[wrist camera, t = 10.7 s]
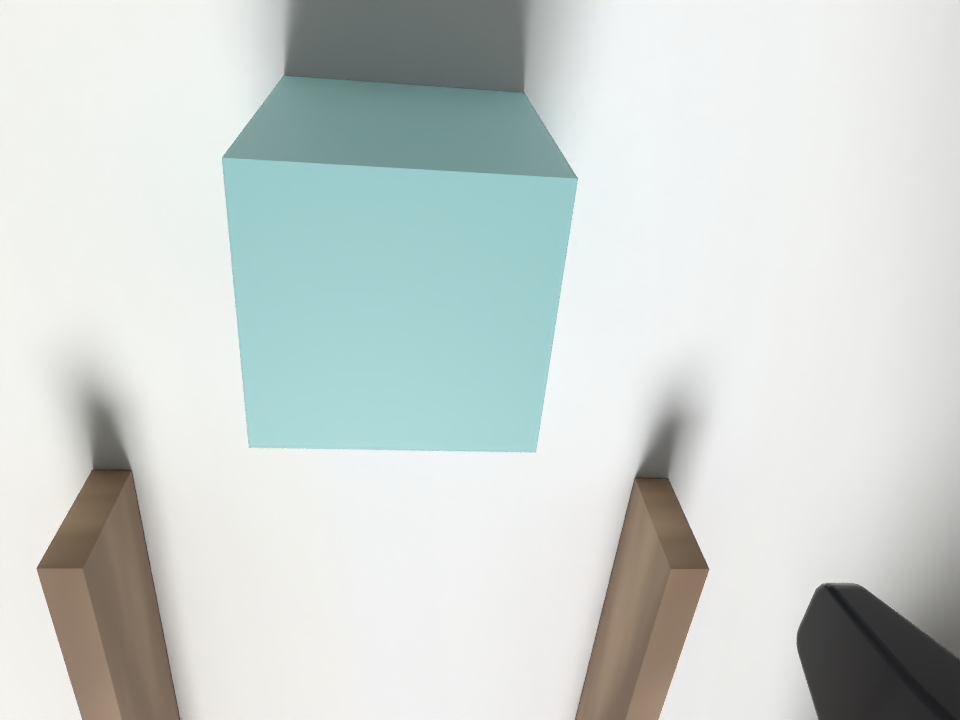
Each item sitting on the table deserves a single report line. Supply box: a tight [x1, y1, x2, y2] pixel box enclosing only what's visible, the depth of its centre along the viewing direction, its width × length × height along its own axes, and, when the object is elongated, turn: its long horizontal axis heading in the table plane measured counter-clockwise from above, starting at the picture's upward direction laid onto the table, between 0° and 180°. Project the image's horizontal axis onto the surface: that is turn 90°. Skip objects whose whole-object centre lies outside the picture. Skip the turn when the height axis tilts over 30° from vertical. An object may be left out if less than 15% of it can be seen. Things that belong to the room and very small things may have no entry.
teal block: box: [222, 76, 578, 452], centre depth 14 cm, size 5×5×6 cm
